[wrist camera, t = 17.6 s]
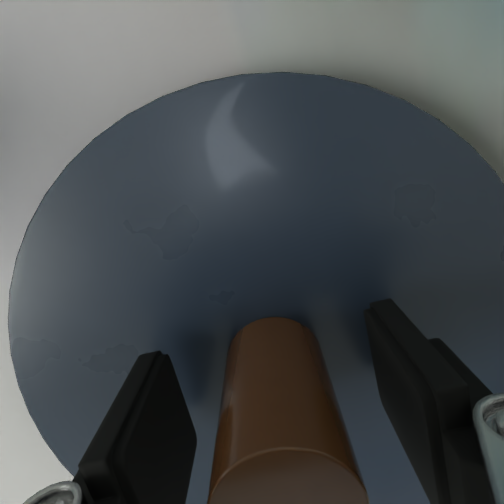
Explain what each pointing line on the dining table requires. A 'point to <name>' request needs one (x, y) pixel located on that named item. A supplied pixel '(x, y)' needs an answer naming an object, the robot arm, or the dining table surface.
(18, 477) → the dining table surface
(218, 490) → the lid
